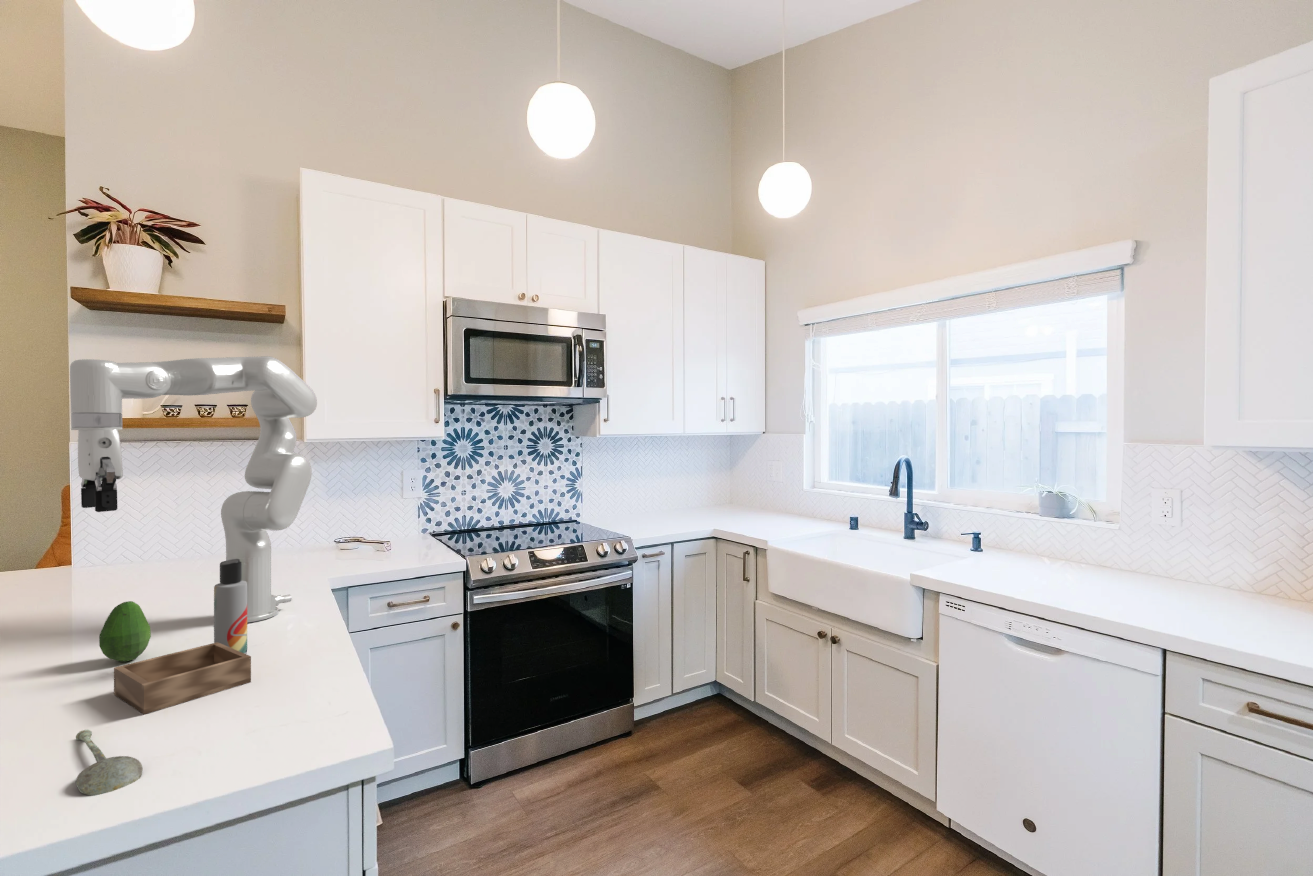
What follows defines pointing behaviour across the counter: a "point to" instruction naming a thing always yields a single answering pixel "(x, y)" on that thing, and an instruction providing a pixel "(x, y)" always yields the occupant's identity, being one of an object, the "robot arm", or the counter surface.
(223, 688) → the walnut tray
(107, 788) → the soupspoon
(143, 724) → the counter surface
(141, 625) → the avocado
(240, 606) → the lotion bottle
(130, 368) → the robot arm
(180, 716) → the counter surface
